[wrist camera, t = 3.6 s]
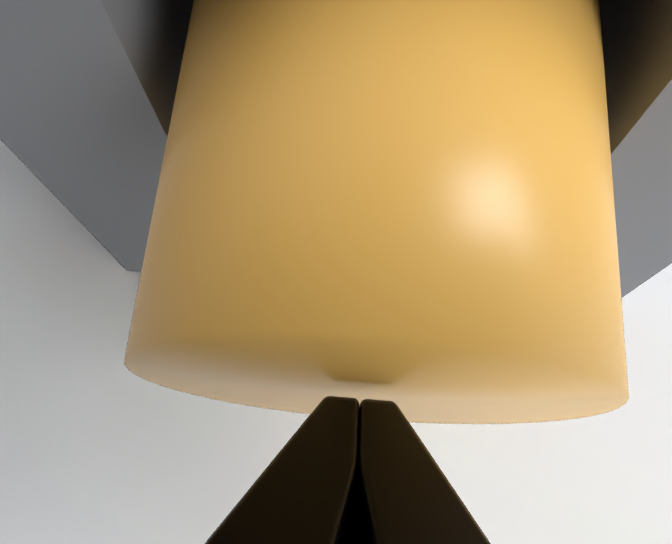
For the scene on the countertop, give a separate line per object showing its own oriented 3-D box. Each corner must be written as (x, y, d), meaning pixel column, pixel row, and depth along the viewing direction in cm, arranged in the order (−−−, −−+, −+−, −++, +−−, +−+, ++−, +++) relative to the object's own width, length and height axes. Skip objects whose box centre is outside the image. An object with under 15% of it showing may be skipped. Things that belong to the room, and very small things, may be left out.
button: (536, 433, 11) (758, 367, 5) (188, 405, 11) (25, 311, 5) (529, 129, 13) (681, -164, 7) (234, 110, 13) (152, -190, 7)
